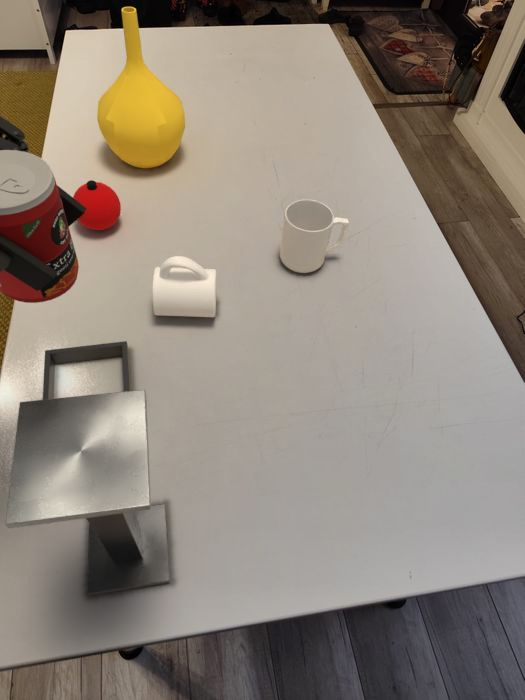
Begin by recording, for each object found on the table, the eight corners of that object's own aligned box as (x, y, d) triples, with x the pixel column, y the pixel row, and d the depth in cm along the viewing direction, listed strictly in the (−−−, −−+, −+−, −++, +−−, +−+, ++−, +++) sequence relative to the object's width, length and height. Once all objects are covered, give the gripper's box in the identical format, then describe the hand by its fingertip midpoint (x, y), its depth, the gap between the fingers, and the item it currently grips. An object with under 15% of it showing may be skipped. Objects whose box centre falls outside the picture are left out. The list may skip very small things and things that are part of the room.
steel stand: (84, 600, 64) (4, 524, 40) (87, 512, 70) (19, 401, 46) (174, 586, 66) (149, 505, 42) (169, 501, 72) (145, 389, 48)
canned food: (62, 312, 47) (28, 216, 39) (-22, 296, 48) (-75, 197, 39) (93, 255, 52) (68, 157, 43) (15, 241, 52) (-24, 141, 43)
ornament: (75, 212, 105) (64, 170, 97) (120, 207, 107) (113, 165, 99) (79, 242, 100) (67, 200, 92) (126, 236, 102) (119, 194, 94)
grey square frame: (133, 418, 79) (130, 408, 77) (47, 430, 77) (41, 420, 75) (129, 351, 86) (126, 340, 84) (49, 360, 84) (44, 350, 82)
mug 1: (214, 326, 91) (214, 279, 81) (155, 324, 90) (147, 276, 80) (216, 291, 96) (216, 242, 86) (160, 289, 95) (153, 240, 85)
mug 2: (282, 277, 99) (289, 232, 90) (275, 245, 104) (281, 199, 95) (343, 274, 101) (356, 230, 92) (333, 242, 106) (344, 197, 97)
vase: (98, 178, 112) (66, 28, 88) (112, 130, 123) (86, -15, 99) (183, 182, 113) (175, 36, 89) (189, 135, 124) (183, -7, 100)
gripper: (-168, 7, 42) (75, 197, 55) (-379, 154, 29) (-2, 353, 43) (-138, -66, 38) (117, 159, 51) (-370, 69, 25) (46, 320, 38)
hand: (63, 247), depth 47 cm, fingers closed on canned food, 8 cm apart
